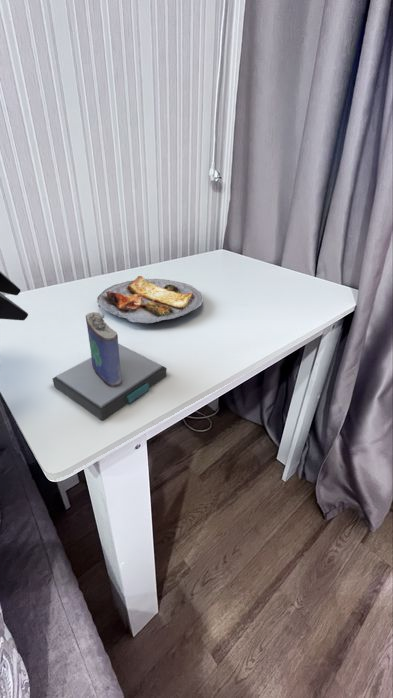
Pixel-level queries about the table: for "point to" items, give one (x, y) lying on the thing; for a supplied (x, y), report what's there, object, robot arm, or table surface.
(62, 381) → the scale
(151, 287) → the food plate
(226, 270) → the table surface
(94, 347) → the flask
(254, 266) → the table surface
